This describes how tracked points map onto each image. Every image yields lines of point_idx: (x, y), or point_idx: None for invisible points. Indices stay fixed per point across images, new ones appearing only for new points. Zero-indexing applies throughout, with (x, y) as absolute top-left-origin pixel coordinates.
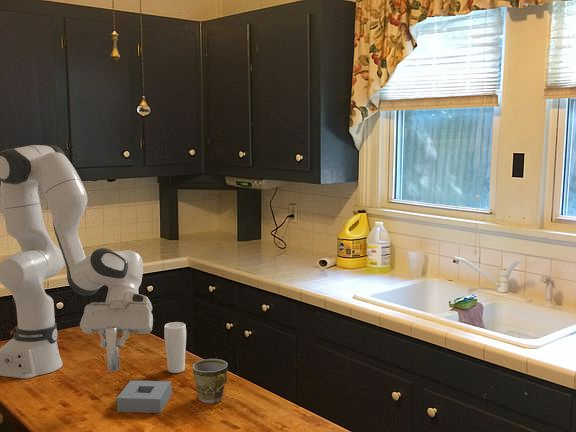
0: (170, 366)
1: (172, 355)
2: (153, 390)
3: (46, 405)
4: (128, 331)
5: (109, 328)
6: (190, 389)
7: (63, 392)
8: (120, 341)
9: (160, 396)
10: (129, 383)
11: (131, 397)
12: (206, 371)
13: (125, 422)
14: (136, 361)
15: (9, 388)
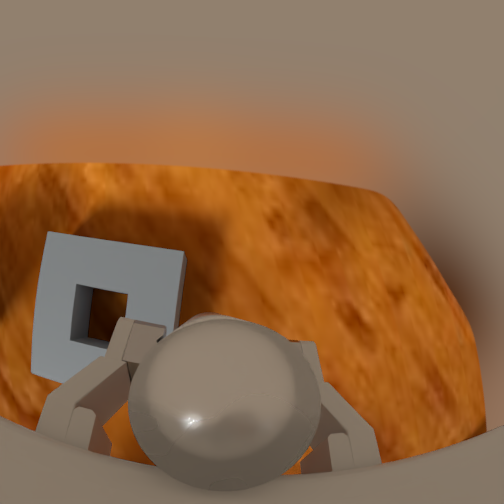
0: None
1: None
2: (69, 304)
3: (397, 314)
4: (47, 434)
5: (248, 389)
6: (15, 389)
7: (378, 398)
8: (126, 340)
9: (46, 251)
10: None
11: (132, 251)
12: None
13: (153, 191)
14: None
15: (477, 396)
